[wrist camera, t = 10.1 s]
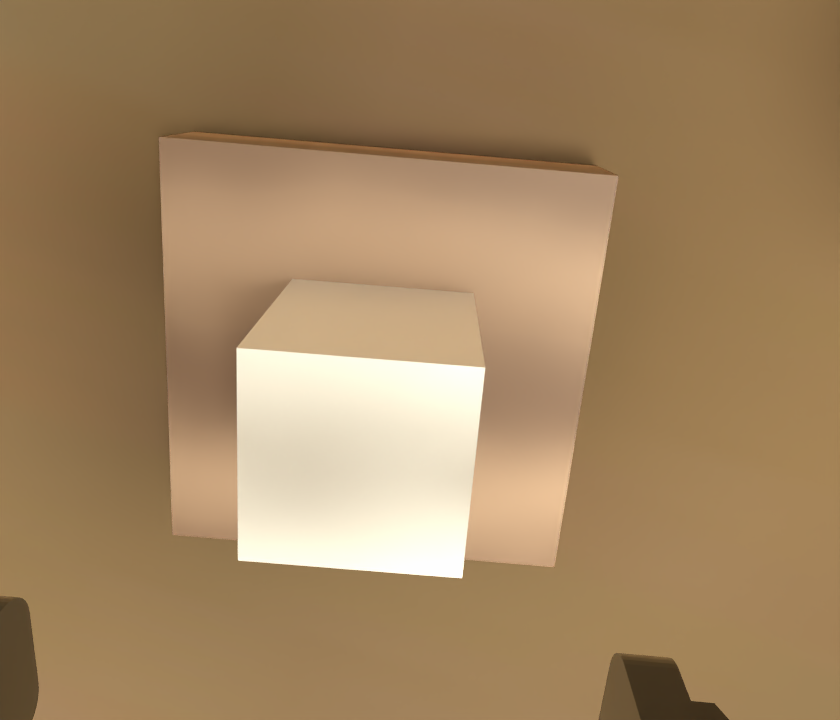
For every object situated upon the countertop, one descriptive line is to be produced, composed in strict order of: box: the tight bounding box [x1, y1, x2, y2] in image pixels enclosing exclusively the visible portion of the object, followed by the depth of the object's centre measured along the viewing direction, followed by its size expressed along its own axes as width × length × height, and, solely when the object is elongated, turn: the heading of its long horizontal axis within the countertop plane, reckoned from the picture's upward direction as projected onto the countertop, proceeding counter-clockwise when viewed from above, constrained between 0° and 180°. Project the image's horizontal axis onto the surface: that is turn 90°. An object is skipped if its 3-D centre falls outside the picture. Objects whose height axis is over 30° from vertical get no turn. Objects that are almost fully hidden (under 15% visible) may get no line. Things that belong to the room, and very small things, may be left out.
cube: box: [236, 279, 485, 578], centre depth 19 cm, size 5×5×6 cm
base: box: [159, 132, 618, 567], centre depth 23 cm, size 12×12×3 cm
